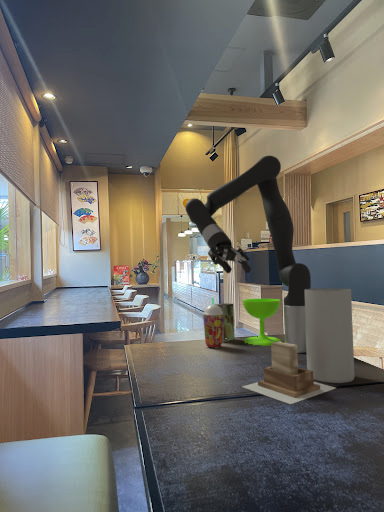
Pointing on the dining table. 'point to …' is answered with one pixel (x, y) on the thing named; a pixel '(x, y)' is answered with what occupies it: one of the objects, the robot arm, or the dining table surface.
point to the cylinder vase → (329, 334)
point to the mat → (285, 397)
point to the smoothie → (213, 325)
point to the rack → (289, 382)
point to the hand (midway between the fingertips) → (239, 271)
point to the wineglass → (261, 318)
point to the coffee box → (227, 321)
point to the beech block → (284, 357)
